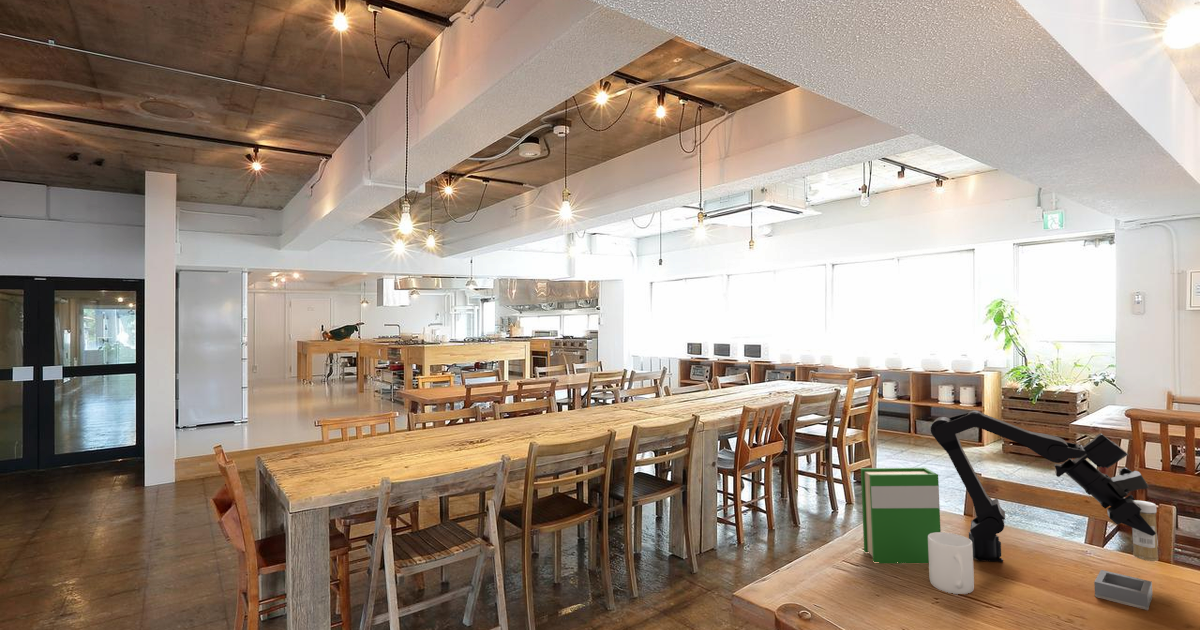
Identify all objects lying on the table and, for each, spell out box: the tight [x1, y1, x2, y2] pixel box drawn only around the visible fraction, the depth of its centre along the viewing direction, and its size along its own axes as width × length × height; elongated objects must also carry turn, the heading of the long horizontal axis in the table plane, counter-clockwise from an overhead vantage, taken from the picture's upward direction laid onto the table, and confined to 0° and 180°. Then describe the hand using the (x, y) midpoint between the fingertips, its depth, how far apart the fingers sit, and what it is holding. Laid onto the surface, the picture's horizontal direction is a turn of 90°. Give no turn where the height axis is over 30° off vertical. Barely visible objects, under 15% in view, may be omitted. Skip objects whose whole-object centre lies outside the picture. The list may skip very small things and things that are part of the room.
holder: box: [1093, 569, 1154, 611], centre depth 133 cm, size 9×9×4 cm
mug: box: [928, 531, 975, 595], centre depth 140 cm, size 10×12×12 cm
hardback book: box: [860, 467, 942, 564], centre depth 159 cm, size 18×7×24 cm, turn 85°
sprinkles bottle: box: [1131, 499, 1159, 562], centre depth 138 cm, size 5×5×13 cm
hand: (1152, 531), depth 138 cm, fingers closed on sprinkles bottle, 4 cm apart
